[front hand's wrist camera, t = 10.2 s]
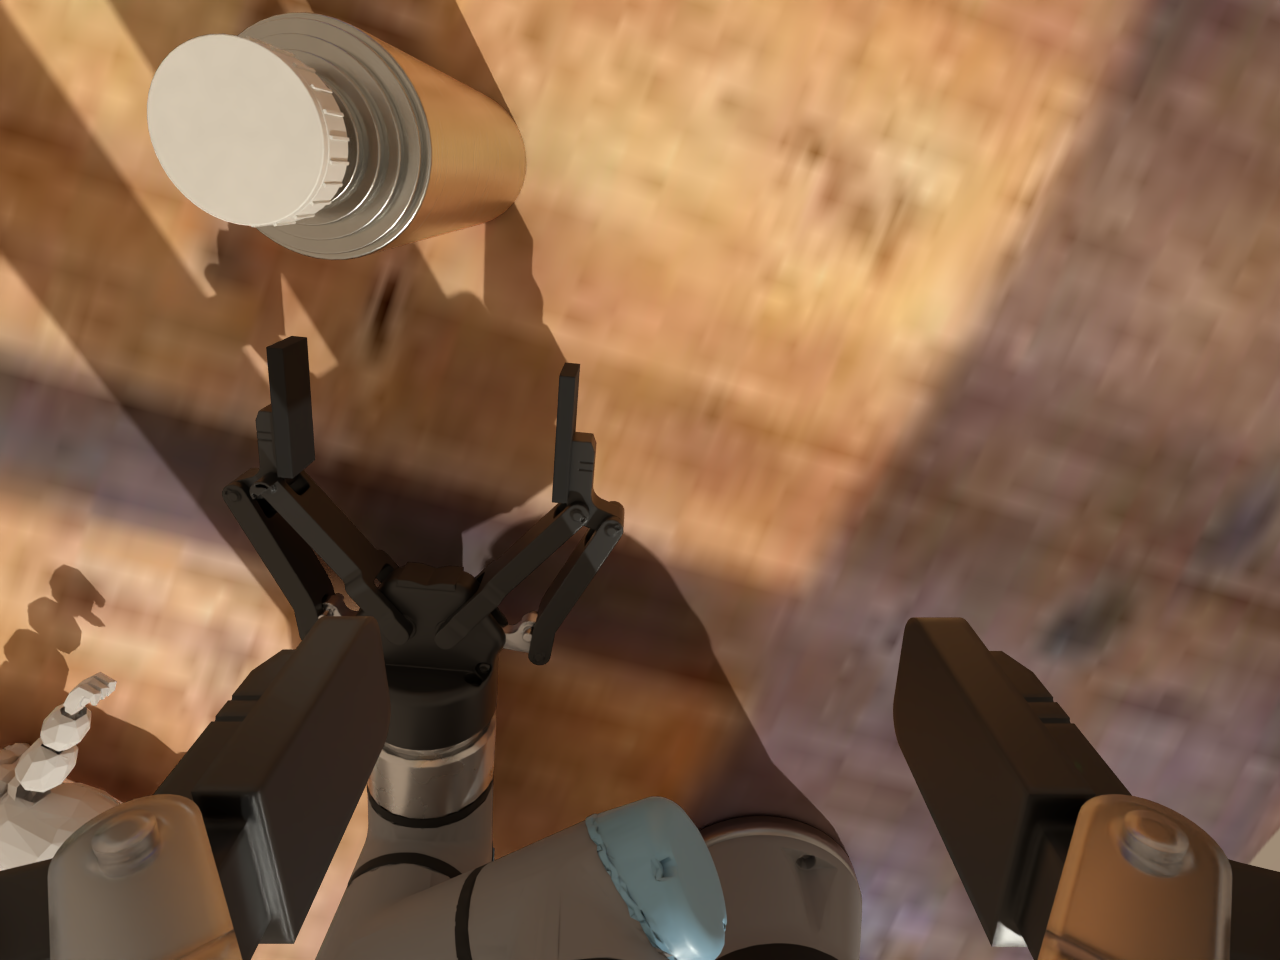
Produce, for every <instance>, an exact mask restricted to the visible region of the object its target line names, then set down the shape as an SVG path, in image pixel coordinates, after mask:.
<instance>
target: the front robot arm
mask: <svg viewBox="0 0 1280 960" xmlns="http://www.w3.org/2000/svg"><path fill="white" fill-rule="evenodd" d="M390 714H391V705H390V696H389V689H388V682H387V675H386V668H385V662H384V655H383V648H382V641H381V635H380V629H379V625H378V622H377V620H376V619H375V618H374V617H373V616H323V617H321V618H319V619H318V620H317V621H316V623H315V624H314V625H313V627H312V628H311V629H310V631H309V632H308V633H307V635H306V636H305V638H304V639H303V640H302V642H301V643H300V644H299V646H298V647H297V648H296V650H281V651H280V652H279V653H277V654H276V655H274V656H273V657H271V658H270V659H268V660H267V661H265V662H264V663H262V664H261V665H260V666H258V667H257V668H255V669H254V670H252V671H251V672H250V674H249V675H248V676H247V677H246V679H245V680H244V681H243V682H242V684H241V685H240V686H239V687H238V689H237V690H236V691H235V693H234V694H233V695H232V700H231V701H227V703H226V704H225V705H224V706H223V708H222V709H221V710H220V711H219V713H218V714H217V715H216V720H215V722H211V723H210V724H209V725H208V726H207V728H206V729H205V730H204V731H203V733H202V734H201V735H200V736H199V738H198V739H197V740H196V741H195V743H194V744H193V745H192V747H191V748H190V749H189V750H188V752H187V753H186V754H185V755H184V757H183V758H182V759H181V760H180V762H179V763H178V764H177V765H176V767H175V768H174V769H173V770H172V772H171V773H170V774H169V775H168V777H167V778H166V779H165V780H164V782H163V783H162V784H161V785H160V787H159V788H158V789H157V790H156V792H155V793H154V794H153V795H151V796H145V797H141V798H137V799H133V800H130V801H127V802H125V803H122V804H119V805H117V806H115V807H113V808H110V809H108V810H106V811H105V812H103V813H101V814H99V815H97V816H96V817H94V818H93V819H91V820H90V821H88V822H86V823H85V824H84V825H82V826H81V827H80V828H79V829H77V830H76V831H75V832H74V833H73V834H72V835H71V836H70V837H69V838H68V839H66V840H65V842H64V843H63V844H62V845H61V846H60V848H59V849H58V850H57V852H56V853H55V855H54V857H53V858H51V859H48V860H44V861H39V862H35V863H31V864H27V865H23V866H19V867H14V868H10V869H6V870H2V871H0V960H251V958H252V956H253V954H254V952H255V950H256V948H257V946H258V944H294V942H295V940H296V938H297V935H298V933H299V931H300V929H301V927H302V924H303V922H304V920H305V918H306V916H307V913H308V911H309V909H310V907H311V905H312V903H313V900H314V898H315V896H316V894H317V892H318V889H319V887H320V885H321V883H322V881H323V878H324V876H325V874H326V872H327V870H328V867H329V865H330V863H331V861H332V859H333V856H334V854H335V852H336V850H337V848H338V845H339V843H340V841H341V839H342V837H343V834H344V832H345V830H346V828H347V826H348V823H349V821H350V819H351V817H352V815H353V812H354V810H355V808H356V806H357V804H358V801H359V799H360V797H361V795H362V793H363V791H364V788H365V786H366V784H367V782H368V780H369V777H370V775H371V773H372V771H373V769H374V766H375V764H376V762H377V760H378V758H379V755H380V753H381V751H382V749H383V747H384V744H385V742H386V738H387V735H388V730H389V724H390ZM893 719H894V727H895V733H896V737H897V740H898V744H899V746H900V748H901V751H902V753H903V755H904V757H905V759H906V761H907V764H908V766H909V768H910V770H911V772H912V774H913V777H914V779H915V781H916V783H917V785H918V787H919V790H920V792H921V794H922V796H923V798H924V801H925V803H926V805H927V807H928V809H929V811H930V814H931V816H932V818H933V820H934V822H935V824H936V827H937V829H938V831H939V833H940V835H941V837H942V840H943V842H944V844H945V846H946V848H947V850H948V853H949V855H950V857H951V859H952V861H953V863H954V866H955V868H956V870H957V872H958V874H959V876H960V879H961V881H962V883H963V885H964V887H965V889H966V892H967V894H968V896H969V898H970V900H971V902H972V905H973V907H974V909H975V911H976V913H977V915H978V918H979V920H980V922H981V924H982V926H983V929H984V931H985V933H986V935H987V937H988V939H989V942H990V944H991V946H992V947H1028V949H1029V951H1030V953H1031V955H1032V957H1033V959H1034V960H1280V872H1277V871H1273V870H1268V869H1264V868H1260V867H1256V866H1252V865H1248V864H1244V863H1240V862H1236V861H1232V860H1229V859H1228V858H1227V857H1226V855H1225V853H1224V852H1223V850H1222V849H1221V848H1220V846H1219V845H1218V844H1217V843H1216V842H1215V840H1214V839H1212V838H1211V837H1210V836H1209V835H1208V834H1207V833H1206V832H1205V831H1204V830H1203V829H1201V828H1200V827H1199V826H1198V825H1196V824H1195V823H1194V822H1192V821H1190V820H1189V819H1187V818H1186V817H1184V816H1183V815H1181V814H1179V813H1177V812H1175V811H1174V810H1172V809H1170V808H1167V807H1165V806H1163V805H1161V804H1158V803H1155V802H1153V801H1150V800H1147V799H1143V798H1139V797H1135V796H1132V795H1131V794H1130V792H1129V791H1128V790H1127V789H1126V788H1125V786H1124V785H1123V784H1122V783H1121V781H1120V780H1119V779H1118V778H1117V776H1116V775H1115V774H1114V773H1113V771H1112V770H1111V769H1110V768H1109V766H1108V765H1107V764H1106V763H1105V761H1104V760H1103V759H1102V758H1101V756H1100V755H1099V754H1098V753H1097V751H1096V750H1095V749H1094V748H1093V746H1092V745H1091V744H1090V743H1089V741H1088V740H1087V739H1086V738H1085V736H1084V735H1083V734H1082V733H1081V731H1080V730H1079V729H1078V728H1077V727H1076V725H1075V724H1071V723H1070V718H1069V717H1068V715H1067V714H1066V713H1065V712H1064V710H1063V709H1062V708H1061V707H1060V705H1059V704H1058V703H1057V702H1053V697H1052V695H1051V694H1050V693H1049V692H1048V690H1047V689H1046V688H1045V687H1044V685H1043V684H1042V683H1041V682H1040V680H1039V679H1038V678H1037V677H1036V675H1035V674H1034V673H1033V672H1032V671H1030V670H1029V669H1027V668H1026V667H1024V666H1023V665H1021V664H1020V663H1019V662H1017V661H1016V660H1014V659H1013V658H1011V657H1010V656H1008V655H1007V654H1005V653H1004V652H1002V651H989V650H988V649H987V648H986V646H985V645H984V644H983V642H982V641H981V640H980V638H979V637H978V635H977V634H976V633H975V631H974V630H973V629H972V627H971V626H970V625H969V623H968V622H967V621H966V620H965V619H963V618H910V619H909V620H908V622H907V624H906V626H905V630H904V636H903V642H902V649H901V656H900V662H899V669H898V676H897V682H896V689H895V696H894V703H893Z"/></svg>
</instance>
